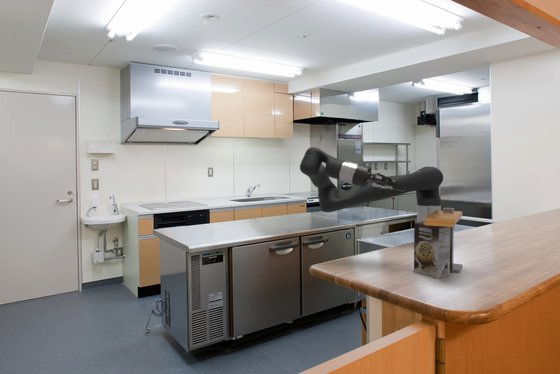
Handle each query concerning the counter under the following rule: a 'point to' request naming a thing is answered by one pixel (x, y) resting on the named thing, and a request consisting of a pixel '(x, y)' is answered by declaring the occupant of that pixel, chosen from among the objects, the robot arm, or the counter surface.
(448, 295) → the counter surface
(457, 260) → the counter surface
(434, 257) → the coffee box
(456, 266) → the grey orange pedestal
